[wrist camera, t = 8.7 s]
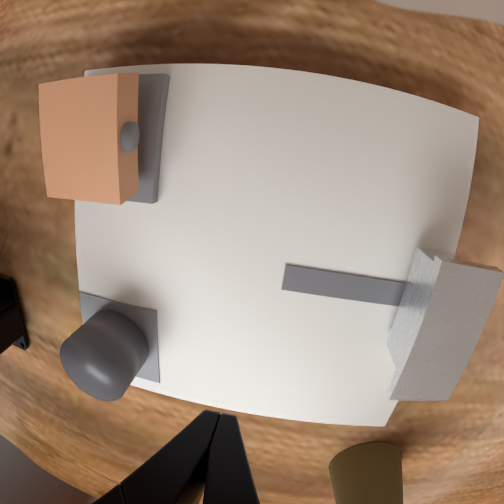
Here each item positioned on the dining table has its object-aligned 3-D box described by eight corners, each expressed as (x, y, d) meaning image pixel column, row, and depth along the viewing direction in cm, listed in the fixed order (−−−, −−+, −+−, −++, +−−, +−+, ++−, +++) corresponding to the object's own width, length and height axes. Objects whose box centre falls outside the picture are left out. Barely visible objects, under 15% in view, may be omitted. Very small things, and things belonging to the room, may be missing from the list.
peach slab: (65, 184, 13) (44, 196, 12) (59, 81, 11) (35, 84, 9) (142, 191, 13) (124, 205, 12) (143, 72, 10) (122, 72, 9)
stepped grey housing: (374, 351, 15) (388, 400, 11) (408, 233, 13) (441, 260, 9) (425, 355, 14) (447, 400, 11) (463, 244, 12) (504, 272, 9)
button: (93, 358, 18) (68, 387, 15) (84, 303, 16) (53, 328, 13) (149, 376, 17) (129, 410, 14) (146, 319, 16) (120, 350, 13)
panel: (106, 355, 20) (87, 377, 18) (105, 76, 15) (78, 68, 12) (379, 405, 19) (386, 433, 16) (460, 119, 13) (485, 116, 10)
